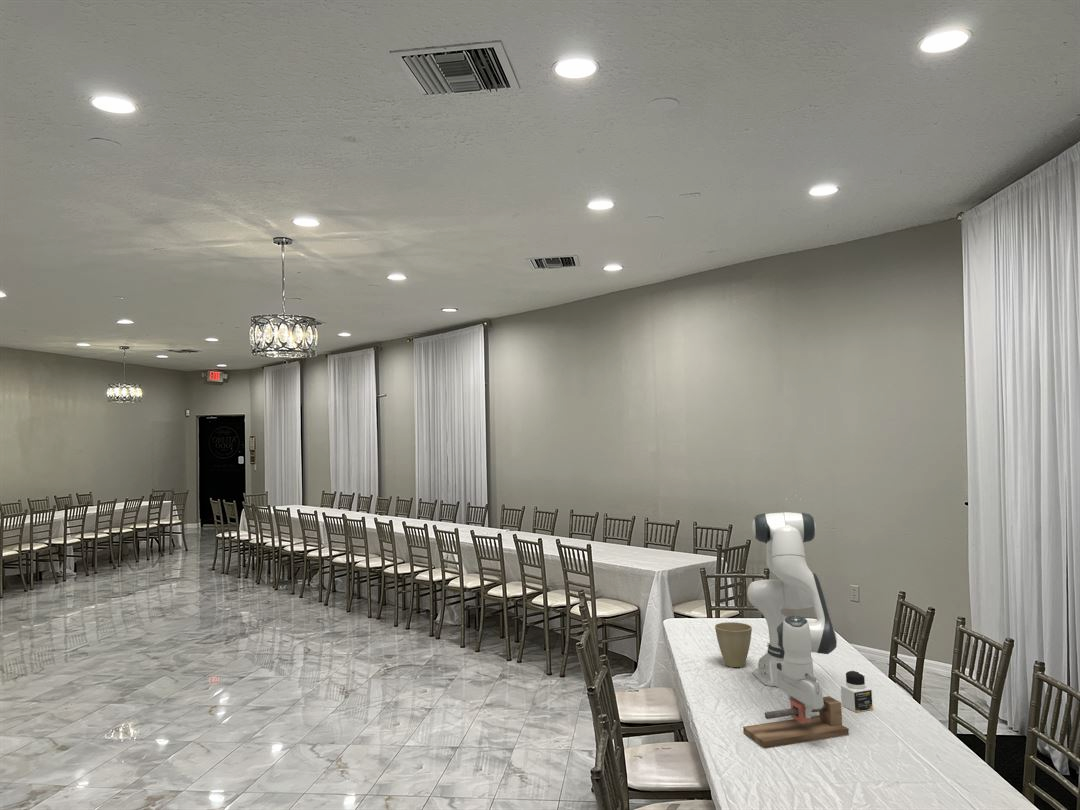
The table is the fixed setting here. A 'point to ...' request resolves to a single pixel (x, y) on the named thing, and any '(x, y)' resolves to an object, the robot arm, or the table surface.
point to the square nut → (799, 711)
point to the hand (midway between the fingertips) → (800, 713)
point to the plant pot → (734, 642)
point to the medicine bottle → (856, 692)
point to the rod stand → (799, 726)
